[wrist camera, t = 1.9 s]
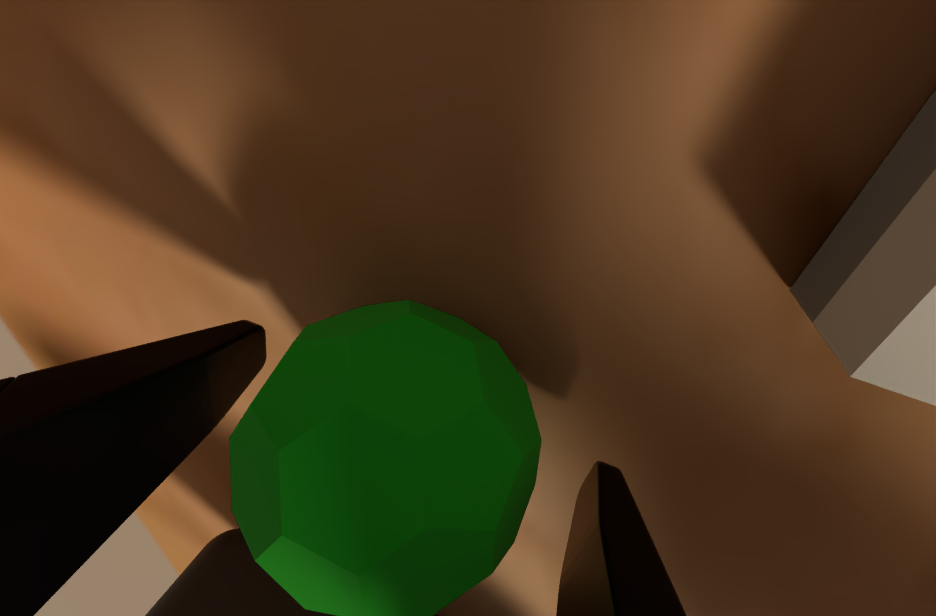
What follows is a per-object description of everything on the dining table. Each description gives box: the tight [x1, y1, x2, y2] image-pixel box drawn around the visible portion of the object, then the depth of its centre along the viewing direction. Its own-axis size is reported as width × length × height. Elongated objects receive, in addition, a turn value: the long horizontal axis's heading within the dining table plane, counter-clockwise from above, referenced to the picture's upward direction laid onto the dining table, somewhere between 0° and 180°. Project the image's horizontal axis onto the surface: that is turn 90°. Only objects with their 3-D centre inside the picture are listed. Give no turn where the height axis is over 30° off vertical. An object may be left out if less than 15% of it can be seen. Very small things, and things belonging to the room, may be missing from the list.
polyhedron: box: [230, 300, 541, 616], centre depth 8 cm, size 5×5×5 cm
